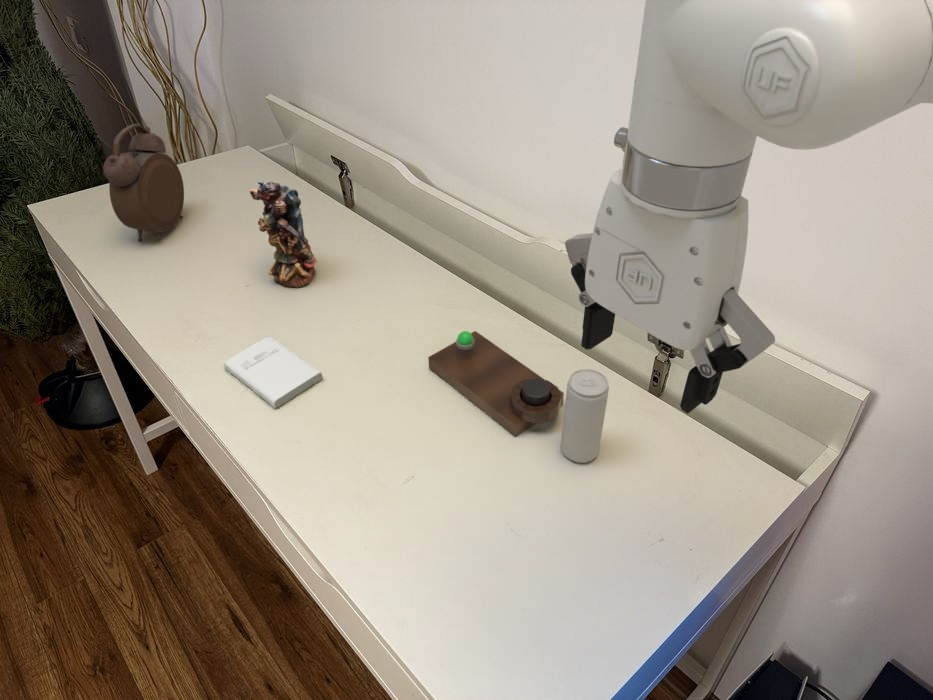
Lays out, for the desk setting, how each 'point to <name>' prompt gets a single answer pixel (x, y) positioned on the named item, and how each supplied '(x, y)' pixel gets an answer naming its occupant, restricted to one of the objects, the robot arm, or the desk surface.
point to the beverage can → (584, 415)
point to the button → (535, 392)
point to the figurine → (285, 234)
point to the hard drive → (273, 371)
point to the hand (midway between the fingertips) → (643, 370)
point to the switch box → (494, 383)
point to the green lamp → (465, 340)
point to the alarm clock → (144, 183)
